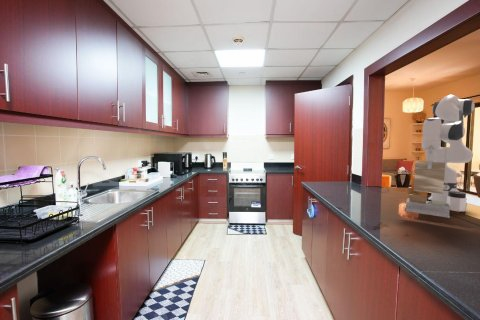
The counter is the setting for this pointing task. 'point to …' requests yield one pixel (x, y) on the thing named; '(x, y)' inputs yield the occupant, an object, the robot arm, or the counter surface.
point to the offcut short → (438, 203)
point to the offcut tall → (417, 198)
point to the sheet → (429, 177)
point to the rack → (428, 208)
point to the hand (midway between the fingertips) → (429, 168)
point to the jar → (456, 201)
